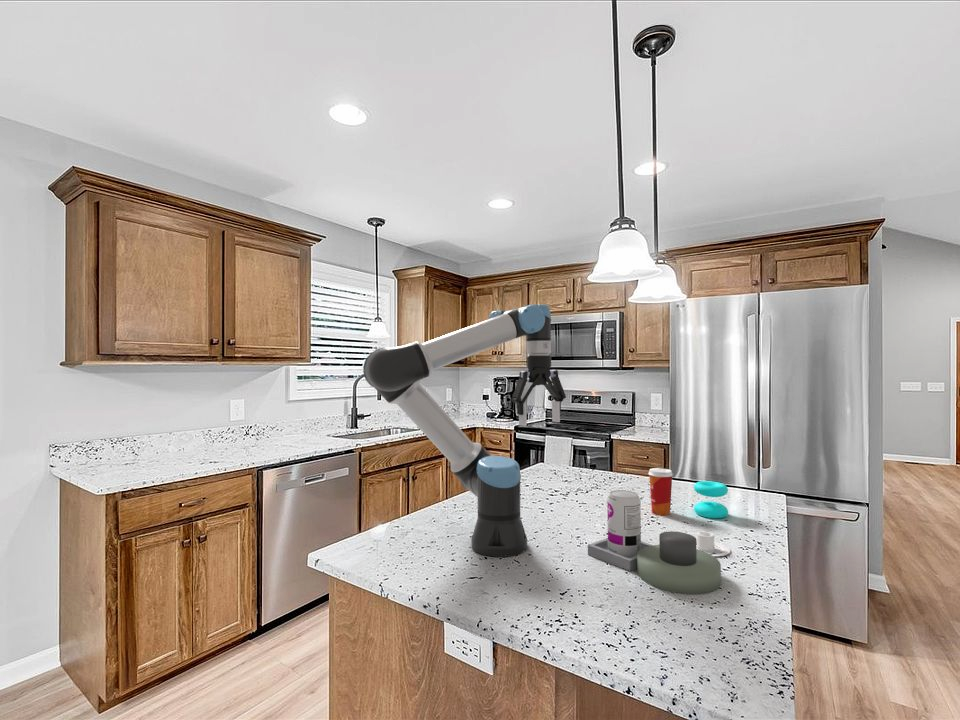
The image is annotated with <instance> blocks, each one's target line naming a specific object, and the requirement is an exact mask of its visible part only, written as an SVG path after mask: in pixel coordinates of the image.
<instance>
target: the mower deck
mask: <svg viewBox="0 0 960 720" xmlns="http://www.w3.org/2000/svg"><path fill="white" fill-rule="evenodd" d="M696 539H697V537H695V536H694V535H692V534H691V533H686V532H681V531H672V530H671V531H664V532H661V533H659V544H654V545H653V544H651V543H647V542H645V541H642V540H641V550H639V551H638V553H637V555H636V556H634V557H624V556H621V555H619V554H616V553H613V552H611V551H609V549H608V537H606V538H604V539H601V540H598V541H595V542H591V543H589V544H587V555H588V556H590V555H591V557H594V558H596V559H598V560H601V561H603V562H606V563H608V564H610V565H614V566H616V567H619V568H621V569H623V568H624V569H623V570H626V571H628V570H629V572H631V570H632V571H634V570H636V569H637V576H638V577H639V578H640V579H641V581H643V582H645V583H647V584H648V585H649V586H650V585H651V586H652V587H654V588H657V589H659V590H663V591H667V592H670V593H676V594H683V595H702V594H709V593H713V592H715V591H717V590H718V589H719V588H720V587H721V585H722V577H721V576H722V566H721V561H719V559H718V558H716V556H712V555H713V554H710V553H709V552H707V551H702V550H699V549H698V548H697V543H696ZM633 569H634V570H633Z"/></svg>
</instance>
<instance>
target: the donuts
mask: <svg viewBox="0 0 960 720" xmlns="http://www.w3.org/2000/svg"><path fill="white" fill-rule="evenodd" d="M693 488H694V491H695V492H696V494H699V495H700V496H703V497H707V498H721V497H724V496H726V495H727V494H728V492H729V487H727V485H726V484H724V483H721V482H717V481H710V480H702V481H697V482H695V483H694V485H693ZM693 508H694V509H693V510H694V512H695V513H696V515H698V516H700V517H703V518H708V519H724V518H726V517H727V516H728V514H729V510H728V508H727V507H726V506H725V504H722V503H720V502H717V501H707V500H706V501H700V502H697V503H696V504H695V505H694V506H693Z"/></svg>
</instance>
